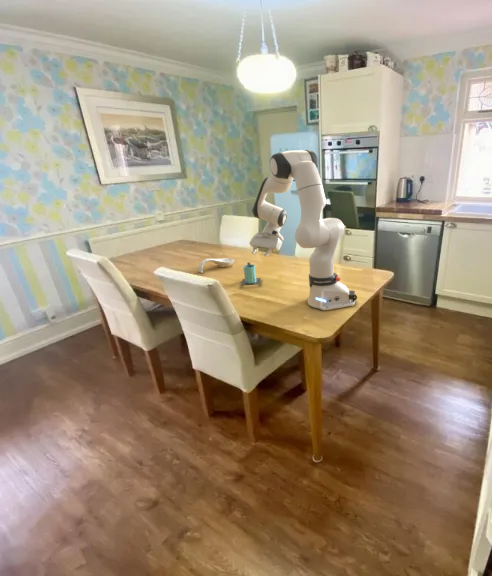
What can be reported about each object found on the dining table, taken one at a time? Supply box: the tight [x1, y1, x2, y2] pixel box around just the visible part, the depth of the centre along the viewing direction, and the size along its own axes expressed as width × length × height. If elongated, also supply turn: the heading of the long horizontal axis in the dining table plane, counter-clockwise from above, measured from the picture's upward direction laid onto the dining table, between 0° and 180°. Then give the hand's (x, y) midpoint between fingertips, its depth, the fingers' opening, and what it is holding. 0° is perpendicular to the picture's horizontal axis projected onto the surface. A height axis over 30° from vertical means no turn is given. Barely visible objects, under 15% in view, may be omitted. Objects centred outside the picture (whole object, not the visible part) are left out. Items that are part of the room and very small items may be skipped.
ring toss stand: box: [240, 261, 262, 286], centre depth 174 cm, size 10×10×12 cm
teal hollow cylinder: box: [243, 263, 257, 284], centre depth 174 cm, size 6×6×9 cm
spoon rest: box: [197, 257, 235, 274], centre depth 202 cm, size 24×12×7 cm, turn 136°
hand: (259, 255), depth 177 cm, fingers open, 8 cm apart
